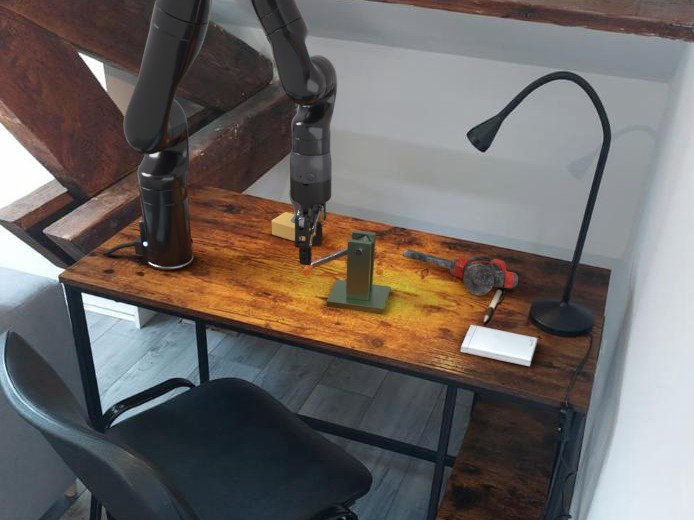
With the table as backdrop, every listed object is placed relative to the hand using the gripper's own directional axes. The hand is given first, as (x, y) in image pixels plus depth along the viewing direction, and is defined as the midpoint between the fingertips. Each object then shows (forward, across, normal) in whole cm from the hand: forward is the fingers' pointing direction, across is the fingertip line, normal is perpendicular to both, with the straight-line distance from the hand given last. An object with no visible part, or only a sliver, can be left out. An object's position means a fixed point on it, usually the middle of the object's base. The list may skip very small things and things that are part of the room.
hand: (310, 254), depth 155 cm
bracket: (+8, 0, +10) cm, 13 cm away
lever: (+1, 0, +6) cm, 6 cm away
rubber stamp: (+8, -24, -9) cm, 27 cm away
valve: (+9, -17, +29) cm, 34 cm away
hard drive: (+9, +11, +38) cm, 40 cm away
